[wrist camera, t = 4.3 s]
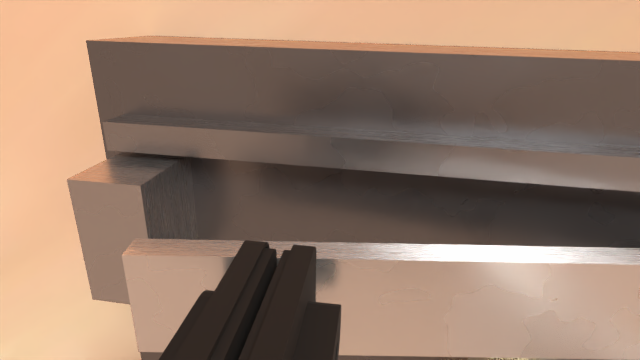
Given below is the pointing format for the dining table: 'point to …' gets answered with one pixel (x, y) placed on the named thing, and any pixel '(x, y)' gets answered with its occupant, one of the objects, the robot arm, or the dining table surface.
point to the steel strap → (421, 296)
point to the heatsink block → (357, 148)
